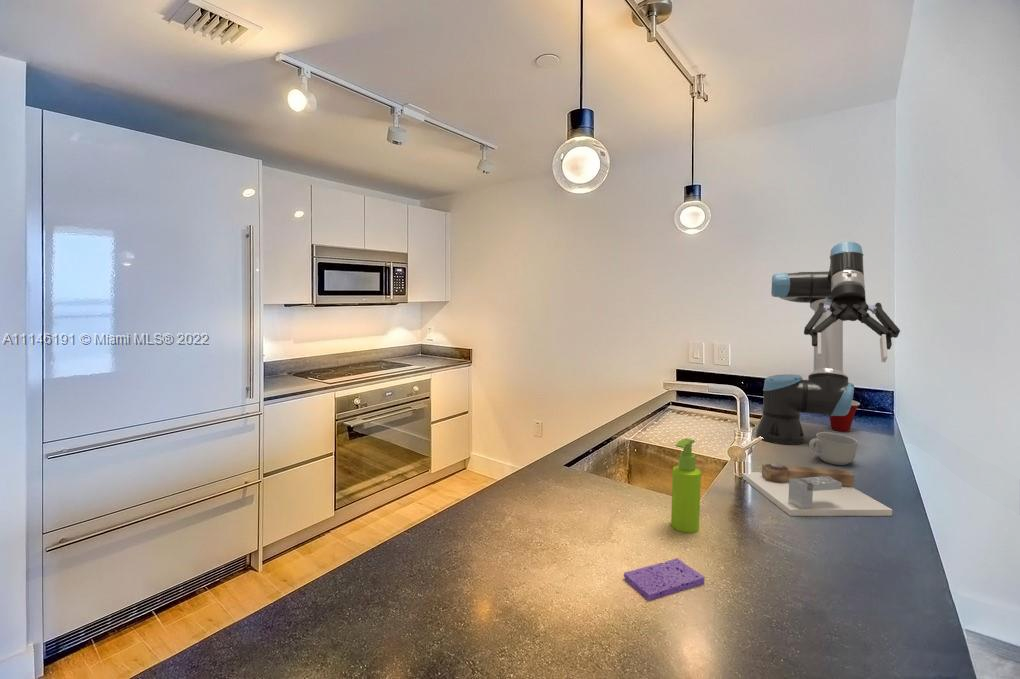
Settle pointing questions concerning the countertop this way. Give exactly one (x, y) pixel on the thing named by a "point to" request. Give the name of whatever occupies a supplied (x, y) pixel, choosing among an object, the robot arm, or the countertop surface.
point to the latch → (804, 473)
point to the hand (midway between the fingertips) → (850, 358)
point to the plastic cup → (844, 419)
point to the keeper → (809, 489)
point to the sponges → (663, 579)
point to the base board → (819, 499)
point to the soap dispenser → (686, 490)
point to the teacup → (834, 447)
